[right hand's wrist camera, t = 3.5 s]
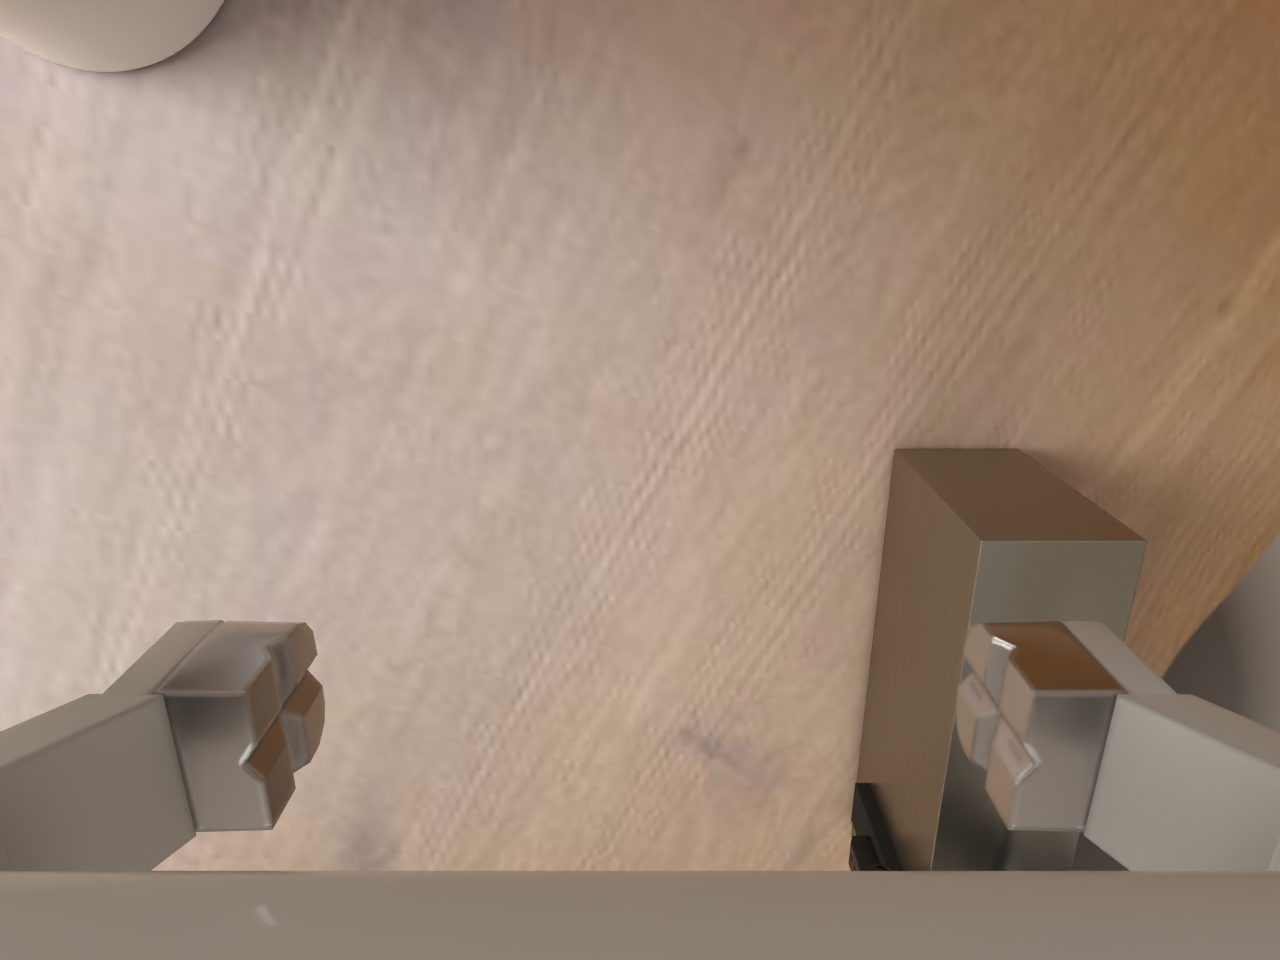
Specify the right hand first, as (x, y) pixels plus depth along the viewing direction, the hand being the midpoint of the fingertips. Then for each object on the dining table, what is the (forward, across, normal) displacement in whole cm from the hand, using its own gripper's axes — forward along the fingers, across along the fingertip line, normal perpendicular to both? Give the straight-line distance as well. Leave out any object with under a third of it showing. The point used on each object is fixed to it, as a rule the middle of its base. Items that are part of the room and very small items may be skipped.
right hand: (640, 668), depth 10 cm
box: (+32, +16, -20) cm, 41 cm away
